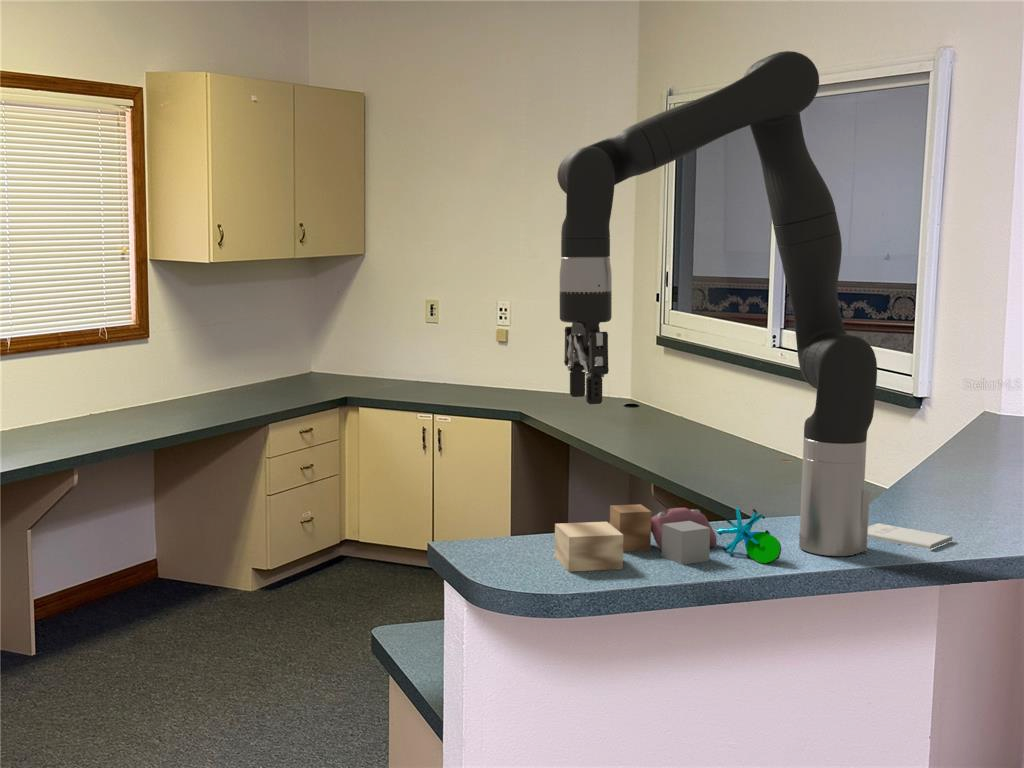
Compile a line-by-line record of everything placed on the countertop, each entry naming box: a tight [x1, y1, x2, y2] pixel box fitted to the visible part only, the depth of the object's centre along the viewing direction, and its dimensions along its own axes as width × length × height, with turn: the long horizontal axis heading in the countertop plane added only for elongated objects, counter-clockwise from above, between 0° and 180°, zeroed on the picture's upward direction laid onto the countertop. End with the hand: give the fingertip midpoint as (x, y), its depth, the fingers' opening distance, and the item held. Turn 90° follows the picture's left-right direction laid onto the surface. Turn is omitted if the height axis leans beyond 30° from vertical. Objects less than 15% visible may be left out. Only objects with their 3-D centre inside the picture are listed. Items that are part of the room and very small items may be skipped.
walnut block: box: [609, 503, 652, 552], centre depth 171 cm, size 5×5×6 cm
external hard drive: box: [868, 522, 953, 549], centre depth 178 cm, size 2×8×12 cm
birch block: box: [554, 521, 624, 573], centre depth 161 cm, size 8×8×5 cm
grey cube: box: [660, 521, 710, 565], centre depth 165 cm, size 5×5×5 cm
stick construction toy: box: [716, 507, 782, 565], centre depth 167 cm, size 12×7×8 cm
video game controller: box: [651, 507, 717, 551], centre depth 172 cm, size 10×5×7 cm, turn 111°
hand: (585, 400), depth 162 cm, fingers open, 8 cm apart
